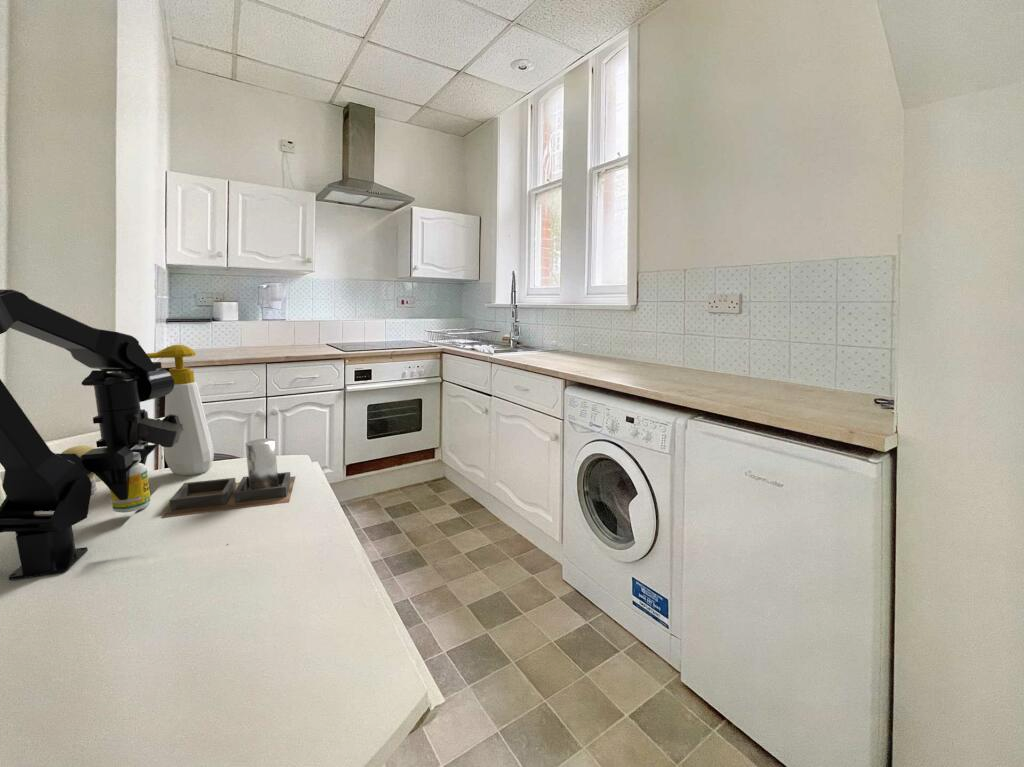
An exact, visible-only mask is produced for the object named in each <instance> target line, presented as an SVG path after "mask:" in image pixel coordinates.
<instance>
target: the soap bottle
mask: <svg viewBox="0 0 1024 767" xmlns="http://www.w3.org/2000/svg"><path fill="white" fill-rule="evenodd" d="M146 354H147V355H148V357H149V358H150V359H151V360H152V359H164V358H165V359H167V358H168V359H170V358H171V359H174V365H175V367H173V368H169V369H168V370H169V371H168V372H169V373H170V374H171V376H172V378H173V379H174V388H173V390H172V391H171V392H170V393H169V394H168V395H166V396H164V397H165V398H164V399H165V401H164V418H165V417H166V416H168V415H169V414H172V415H177V416H178V417H179V420H180V424H183V425H182V426H183V431H182V432H181V434H180V437H179V440H178V442H177V443H175V444H174V446H173V447H163V455H164V461H165V462H166V464H167V466H168V468H169V470H170V471H171V472H172V473H174V474H175V475H181V476H195V475H196V476H197V475H200V474H201V475H202V474H205V473H207V472H209V471H210V469H211V468H212V466H213V463H214V458H215V456H214V453H215V452H214V444H213V440H212V437H211V434H210V430H209V425H208V421H207V417H206V414H205V409H204V405H203V402H202V398H201V394H200V390H199V385H198V383H197V382H196V381H195V374H194V372H195V371H194V370H193V369H191V367H184V365H185V364H184V358H186V357H187V358H189V357H194V356H196V351H194V349H192V348H190V347H189V346H186V345H183V344H174V345H172V344H171V345H170V346H167V347H165V348H163V349H161V350H159V351H155V352H150V353H146Z"/></svg>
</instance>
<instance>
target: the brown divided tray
mask: <svg viewBox="0 0 1024 767" xmlns="http://www.w3.org/2000/svg"><path fill="white" fill-rule="evenodd" d="M295 480H296V476H295V475H294V476H291V472H290V471H288V472H287V471H286V472H278V485H279V486H278V487H269V488H260V489H251V490H250V487H249V476H247V475H246V476H242V478H241V480H240V481H239V482H236V477H230V478H229V477H227V478H221V479H212V480H211V479H210V480H201V481H199V480H198V481H193V482H192V481H191V482H184V483H183V484H182V485H181V487H180V488H179V489H178V490H177V491H176V492H175V494H174V495H172V497H171V498H170V499H169V507H168V509H167V510H166V511H165V512H164V514H162V516H161V517H160V518H161V519H165V518H174V517H182V516H183V517H185V516H190V515H198V514H207V513H215V512H222V511H231V510H238V509H239V510H240V509H246V508H255V507H261V506H270V505H271V506H272V505H277V504H286V503H290V501H291V497H292V492H293V488H294V486H295V485H294V484H295Z"/></svg>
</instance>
